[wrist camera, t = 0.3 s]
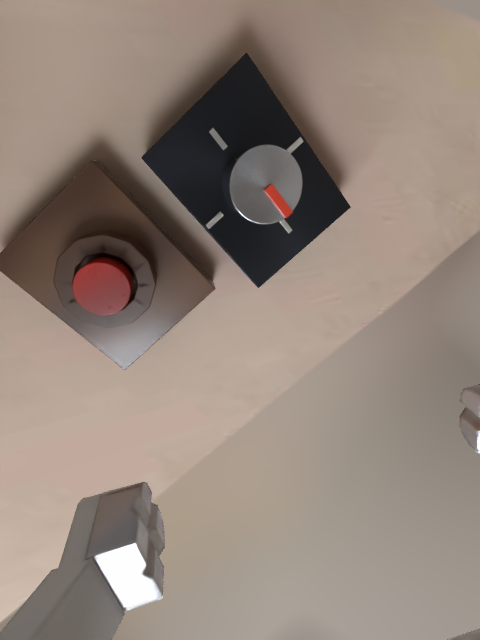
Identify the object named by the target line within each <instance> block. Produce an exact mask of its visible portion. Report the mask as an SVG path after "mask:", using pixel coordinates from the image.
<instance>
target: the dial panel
mask: <svg viewBox="0 0 480 640" xmlns="http://www.w3.org/2000/svg"><path fill="white" fill-rule="evenodd" d="M265 144H269V145H276V146H279V147H281V148H283V149H285V150H286V151H288V152H289V153H290V154H291V155H292V156H293V157H294V158H295V160H296V161H297V163H298V165H299V167H300V170H301V173H302V181H303V186H302V193H301V197H300V199H299V202H298V204H297V205H296V207H295V209H294V210H293V213H292V214H291V215H290V216H288V217H287V218H284V219H283V220H281V221H279V222H277V223H273V224H268V225H262V224H256V223H253V222H251V221H249V220H247V219H245V218H244V217H242V216H241V215H239V214H238V213H236V212H235V211H234V210H233V209H232V208H231V207H230V206H229V205H228V204H227V202H226V200H225V198H224V195H223V192H222V176H223V172H224V169H225V167H226V165H227V164H228V162H229V161H230V160H231V158H232V157H234V156H235V155H236V154H238V153H239V152H241V151H243V150H246V149H249V148H252V147H255V146H259V145H265ZM142 159H143V160H144V161H145V163H146V164H147V165H148V166H149V167H150V168H151V169H152V170H153V171H154V173H155V174H156V175H157V176H158V177H159V178H160V179H161V180H162V182H163V183H164V184H165V185H166V186H167V187H168V188H169V189H170V190H171V192H172V193H173V194H174V195H175V196H176V197H177V198H178V199H179V200H180V202H181V203H182V204H183V205H184V206H185V207H186V208H187V209H188V211H189V212H190V213H191V214H192V215H193V216H194V217H195V218H196V219H197V221H198V222H199V223H200V224H201V225H202V226H203V227H204V228H205V229H206V231H207V232H208V233H209V234H210V235H211V236H212V237H213V238H214V239H215V241H216V242H217V243H218V244H219V245H220V246H221V247H222V248H223V250H224V251H225V252H226V253H227V254H228V255H229V256H230V257H231V258H232V260H233V261H234V262H235V263H236V264H237V265H238V266H239V267H240V268H241V270H242V271H243V272H244V273H245V274H246V275H247V276H248V277H249V278H250V280H251V281H252V282H253V283H254V284H255V285H256V286H257V287H258V288H259V287H260V286H261V285H262V284H263V283H265V282H266V281H267V280H268V279H269V278H270V277H271V276H273V275H274V274H275V273H276V272H277V271H278V270H279V269H281V268H282V267H283V266H284V265H285V264H286V263H287V262H289V261H290V260H291V259H292V258H293V257H294V256H295V255H297V254H298V253H299V252H300V251H301V250H302V249H303V248H304V247H306V246H307V245H308V244H309V243H310V242H311V241H312V240H314V239H315V238H316V237H317V236H318V235H319V234H320V233H322V232H323V231H324V230H325V229H326V228H327V227H328V226H330V225H331V224H332V223H333V222H334V221H335V220H336V219H338V218H339V217H340V216H341V215H342V214H343V213H344V212H346V211H347V210H348V209H349V208H350V205H349V204H348V203H347V201H346V200H345V198H344V197H343V195H342V194H341V192H340V191H339V189H338V188H337V186H336V185H335V183H334V182H333V180H332V179H331V177H330V176H329V174H328V173H327V171H326V170H325V168H324V167H323V165H322V164H321V162H320V161H319V159H318V158H317V156H316V155H315V153H314V152H313V150H312V149H311V148H310V146H309V145H308V143H307V142H306V140H305V139H304V137H303V136H302V134H301V133H300V131H299V130H298V128H297V127H296V125H295V124H294V122H293V121H292V119H291V118H290V116H289V115H288V113H287V112H286V110H285V109H284V107H283V106H282V104H281V103H280V101H279V100H278V98H277V97H276V95H275V94H274V93H273V91H272V90H271V88H270V87H269V85H268V84H267V82H266V81H265V79H264V78H263V76H262V75H261V73H260V72H259V70H258V69H257V67H256V66H255V64H254V63H253V61H252V60H251V58H250V57H249V55H248V54H247V53H246V54H245V55H244V56H243V57H242V58H241V59H240V60H239V61H238V62H237V63H236V64H235V65H234V66H233V67H232V68H231V69H230V70H229V71H228V72H227V73H226V74H225V75H224V76H223V77H222V78H221V79H220V80H219V81H218V82H217V83H216V84H215V85H214V86H213V87H212V88H211V89H210V90H209V91H208V92H207V93H206V94H205V95H204V96H203V97H202V98H201V99H200V100H199V101H198V102H197V103H196V104H195V105H194V106H193V107H192V108H191V109H190V110H189V111H188V112H187V113H186V114H185V115H184V116H183V117H182V118H181V119H180V120H179V121H178V122H177V123H176V124H175V125H174V126H173V127H172V128H171V129H170V130H169V131H167V132H166V133H165V134H164V135H163V136H162V137H161V138H160V139H159V140H158V141H157V142H156V143H155V144H154V145H153V146H152V147H151V148H150V149H149V150H148V151H147V152H146V153H145V154H144V155H143V156H142Z"/></svg>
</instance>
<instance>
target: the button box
mask: <svg viewBox="0 0 480 640" xmlns="http://www.w3.org/2000/svg"><path fill="white" fill-rule="evenodd" d="M97 257H110V258H114V259H116V260H118V261H120V262H122V263H123V264H124V265H125V266H126V267H127V268H128V269H129V271H130V273H131V275H132V278H133V290H132V293H131V296H130V298H129V301H128V303H127V304H126V306H125V307H124V308H123V309H122V310H120V311H119V312H117V313H114V314H111V315H97V314H94V313H91V312H89V311H87V310H86V309H84V308H83V307H82V306H81V305H80V304H79V303H78V302H77V300H76V298H75V296H74V294H73V289H72V285H73V279H74V277H75V275H76V273H77V272H78V271H79V270H80V269H81V268H82V267H83V266H84V265H85V264H86V263H87V262H88V261H90V260H91V259H94V258H97ZM0 271H1V272H2V273H3V274H5V275H6V276H7V277H8V278H10V279H11V280H12V281H13V282H15V283H16V284H17V285H18V286H20V287H21V288H22V289H24V290H25V291H26V292H27V293H29V294H30V295H31V296H32V297H34V298H35V299H36V300H37V301H39V302H40V303H41V304H42V305H44V306H45V307H46V308H47V309H49V310H50V311H51V312H52V313H54V314H55V315H56V316H57V317H59V318H60V319H61V320H63V321H64V322H65V323H66V324H68V325H69V326H70V327H71V328H73V329H74V330H75V331H76V332H78V333H79V334H80V335H81V336H83V337H84V338H85V339H86V340H88V341H89V342H90V343H91V344H93V345H94V346H95V347H96V348H98V349H99V350H100V351H102V352H103V353H104V354H105V355H107V356H108V357H109V358H110V359H112V360H113V361H114V362H115V363H117V364H118V365H119V366H120V367H122V368H123V369H124V370H125V369H126V368H127V367H129V366H130V365H131V364H132V363H133V362H134V361H135V360H136V359H138V358H139V357H140V356H141V355H142V354H143V353H144V352H145V351H146V350H148V349H149V348H150V347H151V346H152V345H153V344H154V343H155V342H156V341H158V340H159V339H160V338H161V337H162V336H163V335H164V334H165V333H167V332H168V331H169V330H170V329H171V328H172V327H173V326H174V325H175V324H177V323H178V322H179V321H180V320H181V319H182V318H183V317H184V316H186V315H187V314H188V313H189V312H190V311H191V310H192V309H193V308H194V307H196V306H197V305H198V304H199V303H200V302H201V301H202V300H203V299H205V298H206V297H207V296H208V295H209V294H210V293H211V292H212V291H213V290H215V286H214V283H213V280H212V279H211V278H210V277H209V276H208V275H207V274H206V273H205V272H204V271H203V270H202V269H201V268H200V267H199V266H198V265H197V264H196V263H195V262H194V261H193V260H192V259H191V257H190V256H189V255H188V254H187V253H186V252H185V251H184V250H183V249H182V248H181V247H180V246H179V245H178V244H177V243H176V242H175V241H174V240H173V239H172V238H171V237H170V236H169V234H168V233H167V232H166V231H165V230H164V229H163V228H162V227H161V226H160V225H159V224H158V223H157V222H156V221H155V220H154V219H153V218H152V217H151V216H150V215H149V214H148V212H147V211H146V210H145V209H144V208H143V207H142V206H141V205H140V204H139V203H138V202H137V201H136V200H135V199H134V198H133V197H132V196H131V195H130V194H129V193H128V192H127V191H126V189H125V188H124V187H123V186H122V185H121V184H120V183H119V182H118V181H117V180H116V179H115V178H114V177H113V176H112V175H111V174H110V173H109V172H108V171H107V170H106V169H105V167H104V166H103V165H102V164H101V163H100V162H99V161H93V160H91V161H90V162H89V163H88V164H87V165H86V166H85V167H84V168H83V169H82V170H81V171H80V172H79V173H78V174H77V175H76V177H75V178H74V179H73V180H72V181H71V182H70V183H69V184H68V185H67V186H66V187H65V188H64V189H63V190H62V191H61V192H60V193H59V194H58V195H57V196H56V197H55V198H54V199H53V200H52V201H51V202H50V203H49V204H48V205H47V206H46V207H45V208H44V209H43V210H42V211H41V212H40V213H39V214H38V215H37V216H36V217H35V218H34V219H33V220H32V222H31V223H30V224H29V225H28V226H27V227H26V228H25V229H24V230H23V231H22V232H21V233H20V234H19V235H18V236H17V237H16V238H15V239H14V240H13V241H12V242H11V243H10V244H9V245H8V246H7V247H6V248H5V249H4V250H3V251H2V252H1V253H0Z"/></svg>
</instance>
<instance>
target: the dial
mask: <svg viewBox="0 0 480 640" xmlns="http://www.w3.org/2000/svg"><path fill="white" fill-rule="evenodd" d="M302 186H303V181H302V173H301V170H300V167H299V165H298V163H297V161H296V160H295V158H294V157H293V156H292V155H291V154H290V153H289V152H288V151H286V150H285V149H283V148H281V147H279V146H276V145H269V144H265V145H259V146H255V147H252V148H249V149H246V150H243V151H241V152H239V153H238V154H236V155H235V156H234V157H232V158H231V160H230V161H229V162H228V164H227V165H226V167H225V169H224V172H223V176H222V192H223V195H224V198H225V200H226V202H227V204H228V205H229V206H230V207H231V208H232V209H233V210H234V211H235V212H236V213H238V214H239V215H241V216H242V217H244V218H245V219H247V220H249V221H251V222H253V223H256V224H262V225H268V224H273V223H277V222H279V221H281V220H283V219H284V218H287V217H288V216H290V215H291V214H292V213H293V210H294V209H295V207H296V205H297V204H298V202H299V199H300V197H301V193H302Z"/></svg>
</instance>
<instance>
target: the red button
mask: <svg viewBox="0 0 480 640" xmlns="http://www.w3.org/2000/svg"><path fill="white" fill-rule="evenodd" d="M72 289H73V294H74V296H75V298H76V300H77V302H78V303H79V304H80V305H81V306H82V307H83V308H84V309H86V310H87V311H89V312H91V313H94V314H97V315H111V314H114V313H117V312H119V311H120V310H122V309H123V308H124V307H125V306H126V304H127V303H128V301H129V298H130V296H131V293H132V290H133V278H132V275H131V273H130V271H129V269H128V268H127V267H126V266H125V265H124V264H123V263H122V262H120V261H118V260H116V259H114V258H110V257H97V258H94V259H91V260H90V261H88V262H87V263H86V264H85V265H84V266H83V267H82V268H81V269H80V270H79V271H78V272H77V273H76V275H75V277H74V279H73V285H72Z"/></svg>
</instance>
